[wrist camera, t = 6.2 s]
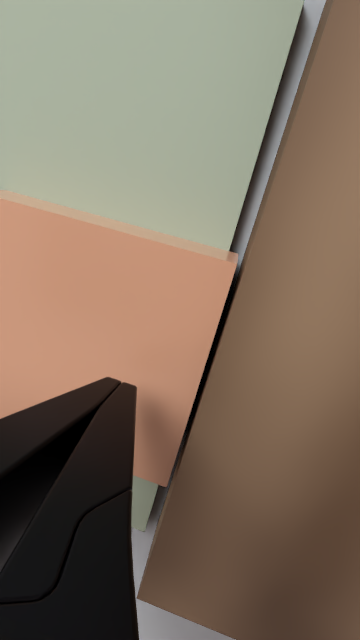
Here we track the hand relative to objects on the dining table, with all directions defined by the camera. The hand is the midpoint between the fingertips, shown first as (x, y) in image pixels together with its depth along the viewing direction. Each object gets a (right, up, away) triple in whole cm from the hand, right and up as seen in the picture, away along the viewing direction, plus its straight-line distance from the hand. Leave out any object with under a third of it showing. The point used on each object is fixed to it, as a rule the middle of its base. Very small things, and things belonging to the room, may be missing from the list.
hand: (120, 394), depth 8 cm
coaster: (-1, +2, +3) cm, 4 cm away
